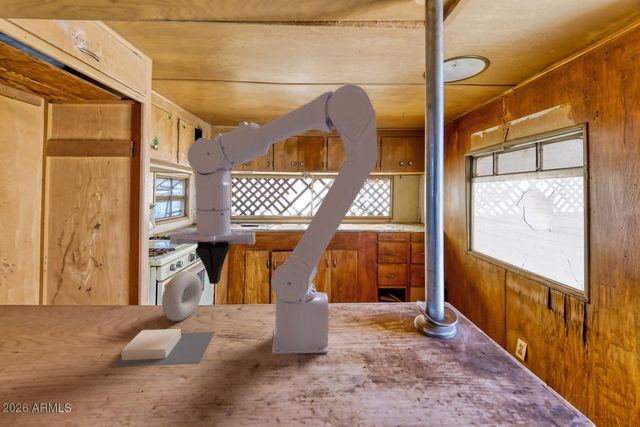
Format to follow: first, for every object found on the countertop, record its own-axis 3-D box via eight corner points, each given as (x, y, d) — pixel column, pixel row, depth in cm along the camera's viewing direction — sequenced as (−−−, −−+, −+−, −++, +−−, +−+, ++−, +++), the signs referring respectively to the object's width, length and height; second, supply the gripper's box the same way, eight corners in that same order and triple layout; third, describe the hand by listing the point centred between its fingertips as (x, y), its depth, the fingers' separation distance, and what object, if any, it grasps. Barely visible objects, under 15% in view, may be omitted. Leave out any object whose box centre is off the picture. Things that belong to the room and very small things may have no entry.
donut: (174, 332, 52) (172, 281, 51) (158, 329, 52) (156, 279, 51) (206, 308, 62) (205, 265, 60) (192, 307, 62) (191, 264, 61)
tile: (180, 328, 49) (142, 330, 48) (165, 348, 43) (121, 350, 42) (180, 337, 49) (142, 338, 49) (165, 358, 43) (121, 360, 43)
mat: (215, 333, 51) (215, 331, 51) (199, 365, 42) (199, 362, 42) (141, 336, 50) (141, 334, 50) (109, 369, 41) (109, 366, 41)
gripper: (160, 211, 45) (163, 291, 46) (251, 212, 46) (251, 289, 48) (178, 207, 52) (180, 276, 53) (256, 208, 53) (256, 275, 55)
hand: (214, 282), depth 51 cm, fingers closed
